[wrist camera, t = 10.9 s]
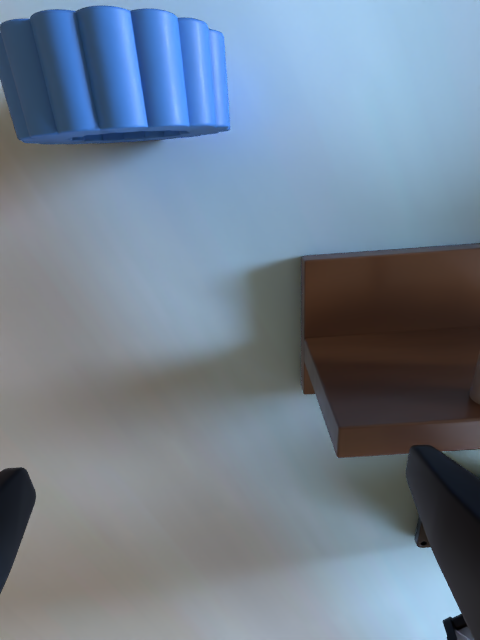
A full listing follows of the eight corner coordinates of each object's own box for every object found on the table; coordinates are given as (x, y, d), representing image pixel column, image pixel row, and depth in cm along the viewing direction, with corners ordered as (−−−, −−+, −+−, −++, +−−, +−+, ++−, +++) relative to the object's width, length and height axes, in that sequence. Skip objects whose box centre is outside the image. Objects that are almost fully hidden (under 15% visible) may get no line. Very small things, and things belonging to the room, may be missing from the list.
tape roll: (246, 132, 15) (199, 119, 9) (94, 145, 17) (-40, 142, 10) (243, 59, 14) (186, -16, 8) (80, 79, 16) (-80, 30, 9)
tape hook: (500, 371, 22) (636, 482, 14) (300, 385, 22) (334, 500, 14) (576, 98, 16) (873, 49, 8) (301, 119, 16) (359, 88, 9)
